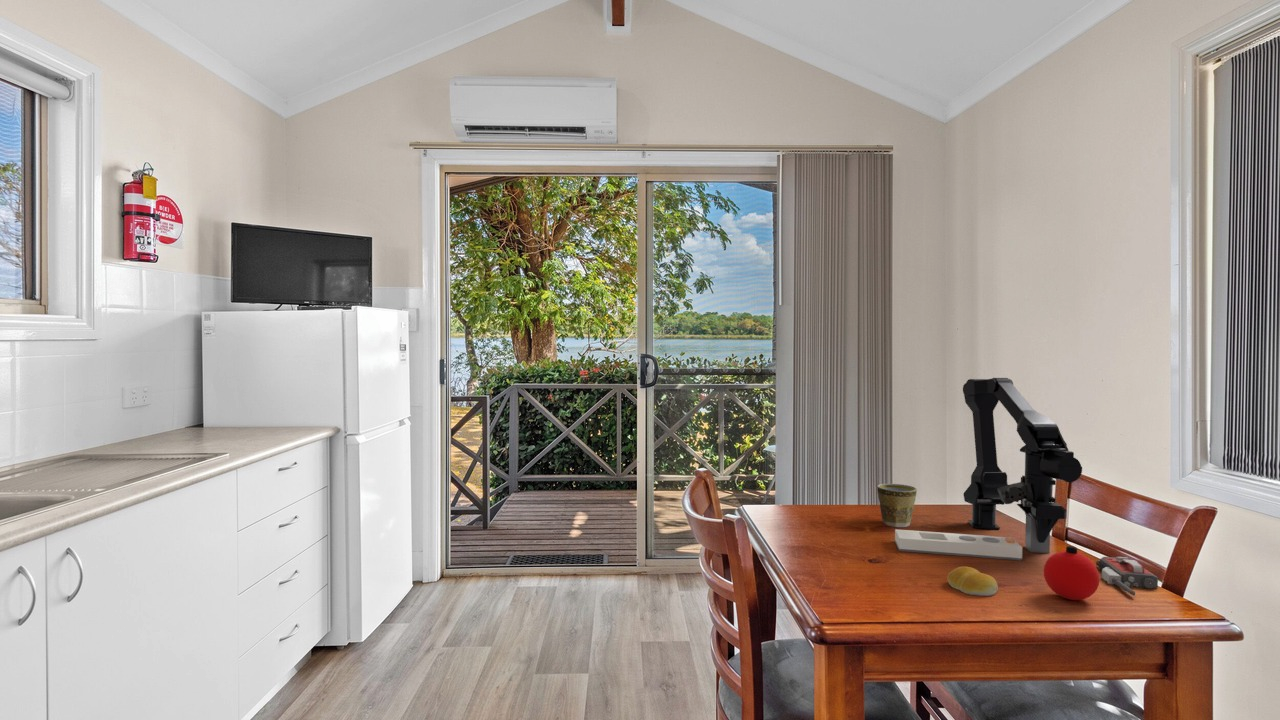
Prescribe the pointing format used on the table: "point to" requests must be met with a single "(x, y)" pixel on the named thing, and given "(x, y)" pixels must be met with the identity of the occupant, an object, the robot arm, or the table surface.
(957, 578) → the bread roll
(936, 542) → the power strip
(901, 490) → the ceramic cup
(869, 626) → the table surface
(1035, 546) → the grey rectangular block
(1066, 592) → the ornament
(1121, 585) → the walkie-talkie
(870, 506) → the table surface
